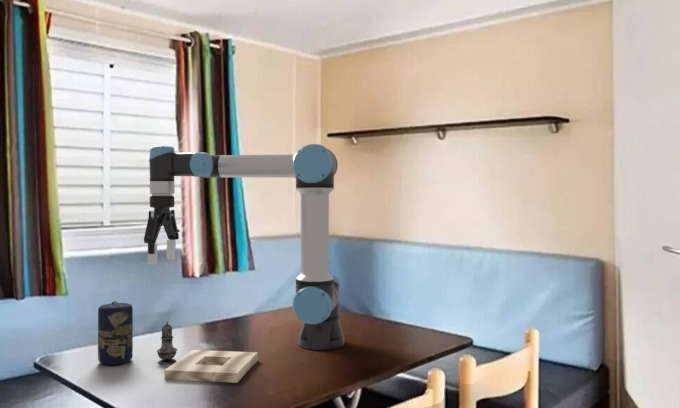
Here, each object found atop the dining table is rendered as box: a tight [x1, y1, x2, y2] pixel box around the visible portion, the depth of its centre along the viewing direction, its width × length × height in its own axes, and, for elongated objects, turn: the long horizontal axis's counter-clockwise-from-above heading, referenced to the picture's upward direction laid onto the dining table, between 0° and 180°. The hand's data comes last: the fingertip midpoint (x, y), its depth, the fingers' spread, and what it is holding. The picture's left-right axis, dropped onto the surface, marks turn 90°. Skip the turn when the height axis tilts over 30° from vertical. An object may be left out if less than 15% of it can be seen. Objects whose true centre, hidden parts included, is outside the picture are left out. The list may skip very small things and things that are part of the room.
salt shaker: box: [156, 321, 178, 366], centre depth 168 cm, size 6×6×12 cm
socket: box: [164, 349, 258, 384], centre depth 161 cm, size 20×20×2 cm
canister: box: [97, 300, 134, 366], centre depth 168 cm, size 10×10×18 cm
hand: (162, 262), depth 181 cm, fingers open, 13 cm apart
